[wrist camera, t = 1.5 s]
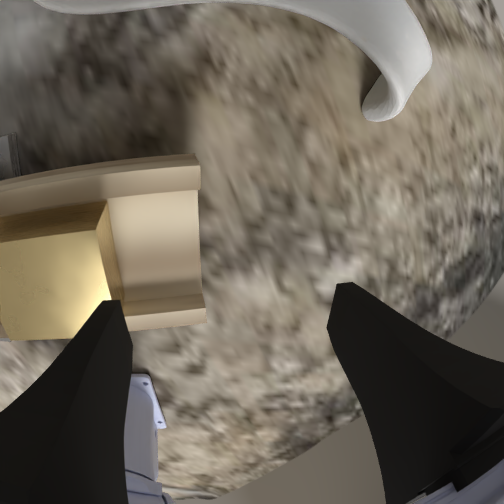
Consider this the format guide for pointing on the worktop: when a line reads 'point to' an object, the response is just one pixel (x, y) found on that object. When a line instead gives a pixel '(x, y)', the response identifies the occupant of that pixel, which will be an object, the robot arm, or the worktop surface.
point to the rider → (56, 270)
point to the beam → (134, 228)
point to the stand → (9, 165)
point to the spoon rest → (340, 19)
